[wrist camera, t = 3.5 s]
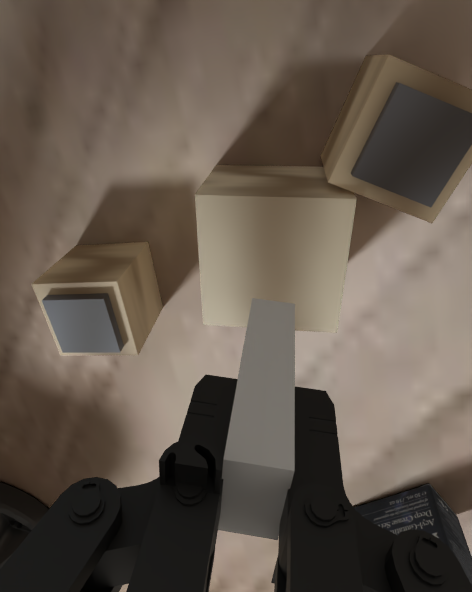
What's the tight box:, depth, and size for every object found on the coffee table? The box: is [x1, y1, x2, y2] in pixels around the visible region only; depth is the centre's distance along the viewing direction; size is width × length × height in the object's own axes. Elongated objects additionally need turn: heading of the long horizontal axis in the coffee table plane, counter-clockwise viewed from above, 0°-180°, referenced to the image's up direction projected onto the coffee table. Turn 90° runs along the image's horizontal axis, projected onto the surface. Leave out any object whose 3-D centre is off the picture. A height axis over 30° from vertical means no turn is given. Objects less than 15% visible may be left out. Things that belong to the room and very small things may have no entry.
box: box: [354, 484, 472, 585], centre depth 32 cm, size 8×6×11 cm
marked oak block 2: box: [32, 242, 163, 356], centre depth 25 cm, size 5×5×6 cm
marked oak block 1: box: [320, 54, 472, 223], centre depth 18 cm, size 5×5×6 cm
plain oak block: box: [195, 165, 357, 333], centre depth 22 cm, size 7×7×6 cm
